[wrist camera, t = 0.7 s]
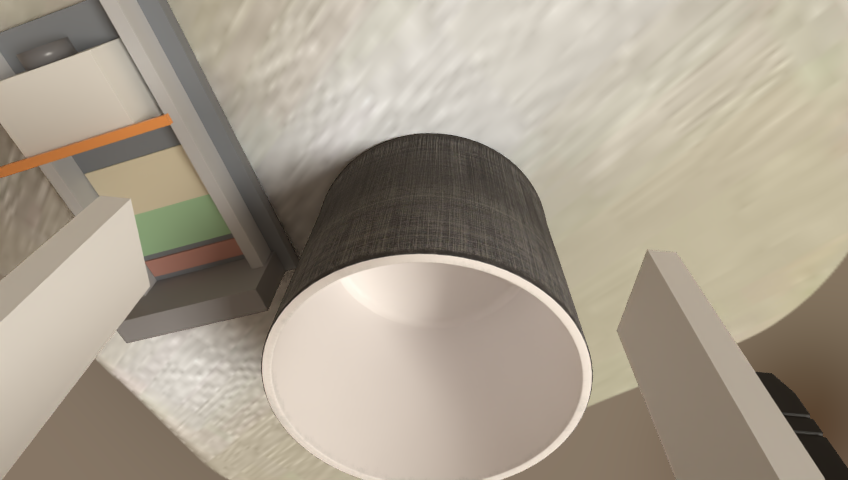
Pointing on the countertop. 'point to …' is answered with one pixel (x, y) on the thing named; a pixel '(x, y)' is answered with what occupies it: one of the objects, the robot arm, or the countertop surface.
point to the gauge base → (170, 175)
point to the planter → (428, 321)
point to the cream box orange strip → (74, 102)
